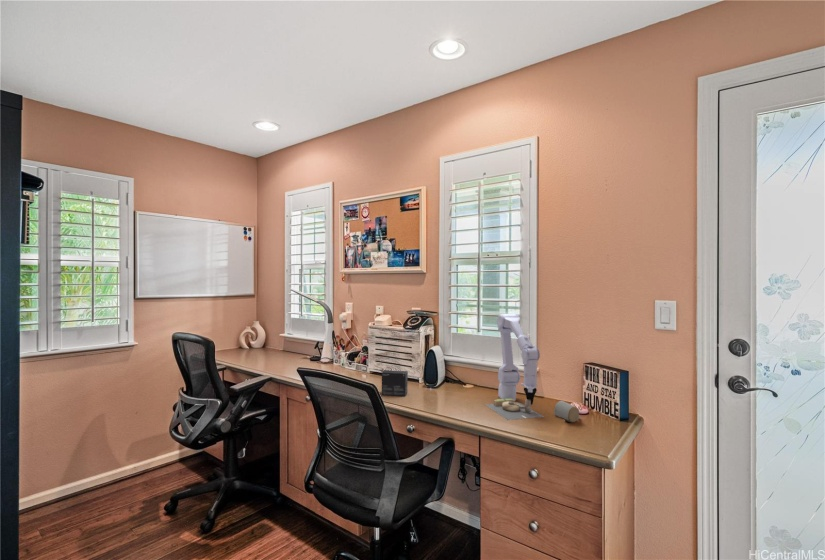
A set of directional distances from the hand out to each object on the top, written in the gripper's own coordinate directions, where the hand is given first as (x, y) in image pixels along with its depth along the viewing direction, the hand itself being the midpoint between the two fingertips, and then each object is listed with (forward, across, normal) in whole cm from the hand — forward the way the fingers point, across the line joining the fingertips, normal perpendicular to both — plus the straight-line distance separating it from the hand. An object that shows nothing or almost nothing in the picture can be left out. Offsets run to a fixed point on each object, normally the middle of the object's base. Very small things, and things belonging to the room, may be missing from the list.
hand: (530, 404), depth 183 cm
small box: (+5, -12, -69) cm, 70 cm away
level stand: (+5, +1, -7) cm, 9 cm away
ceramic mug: (+5, +1, +16) cm, 17 cm away
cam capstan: (+3, 0, -6) cm, 7 cm away
